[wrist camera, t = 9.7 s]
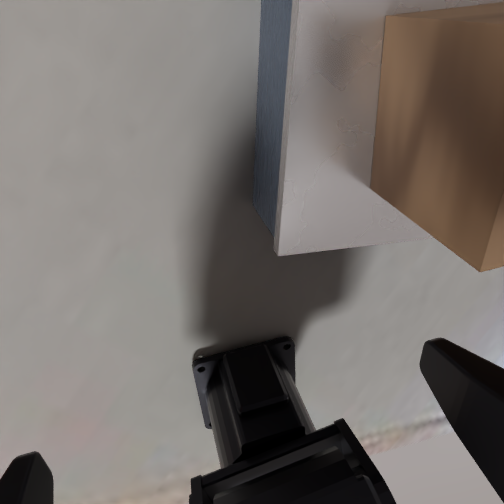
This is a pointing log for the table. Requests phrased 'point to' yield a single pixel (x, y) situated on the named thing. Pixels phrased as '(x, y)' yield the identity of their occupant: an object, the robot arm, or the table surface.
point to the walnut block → (445, 127)
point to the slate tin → (325, 123)
